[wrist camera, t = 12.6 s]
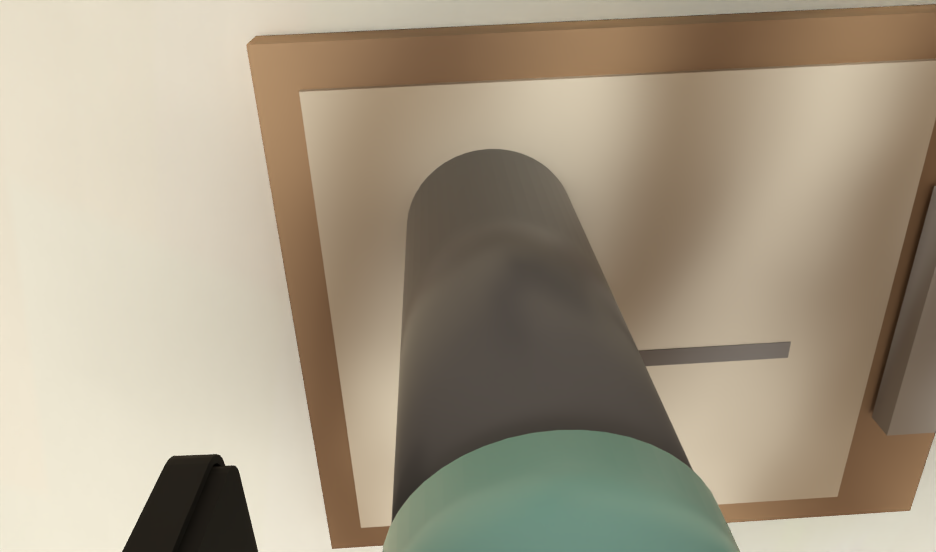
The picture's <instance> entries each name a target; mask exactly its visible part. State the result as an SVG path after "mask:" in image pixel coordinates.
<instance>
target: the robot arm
mask: <svg viewBox="0 0 936 552" xmlns="http://www.w3.org/2000/svg"><path fill="white" fill-rule="evenodd" d="M122 552H258V549H257V545H256V541H255V537H254V533H253V528H252V524H251V520H250V516H249V512H248V507H247V503H246V499H245V495H244V491H243V486H242V482H241V478H240V474H239V471H238V469H237V467H236V466H225V464H224V461H223V459H222V457H221V456H220V455H217V454H213V455H186V456H173V457H171V458H170V459H169V460H168V461H167V463H166V464H165V466H164V468H163V470H162V472H161V474H160V476H159V478H158V480H157V482H156V484H155V486H154V488H153V490H152V492H151V494H150V497H149V499H148V501H147V503H146V505H145V507H144V509H143V511H142V513H141V515H140V517H139V519H138V521H137V523H136V525H135V527H134V529H133V531H132V533H131V535H130V537H129V539H128V541H127V543H126V545H125V547H124V549H123V551H122Z"/></svg>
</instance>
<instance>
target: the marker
mask: <svg viewBox="0 0 936 552" xmlns="http://www.w3.org/2000/svg"><path fill="white" fill-rule="evenodd" d="M383 552H740V550H739V548H738V546H737V544H736V542H735V540H734V538H733V536H732V533H731V531H730V529H729V527H728V525H727V523H726V521H725V519H724V516H723V514H722V512H721V510H720V508H719V506H718V504H717V502H716V500H715V498H714V496H713V494H712V492H711V491H710V489H709V488H708V487H707V486H706V484H705V483H704V482H703V480H702V479H701V478H700V477H699V476H698V475H697V474H696V473H695V472H694V471H693V469H692V467H691V465H690V463H689V461H688V458H687V456H686V454H685V452H684V450H683V447H682V445H681V443H680V441H679V439H678V436H677V434H676V432H675V430H674V428H673V425H672V423H671V421H670V419H669V417H668V414H667V412H666V410H665V408H664V406H663V403H662V401H661V399H660V397H659V395H658V392H657V390H656V388H655V386H654V384H653V381H652V379H651V377H650V375H649V373H648V370H647V368H646V366H645V364H644V362H643V359H642V357H641V355H640V353H639V351H638V348H637V346H636V344H635V342H634V340H633V337H632V335H631V333H630V331H629V329H628V326H627V324H626V322H625V320H624V318H623V315H622V313H621V311H620V309H619V307H618V304H617V302H616V300H615V298H614V296H613V293H612V291H611V289H610V287H609V285H608V282H607V280H606V278H605V276H604V274H603V271H602V269H601V267H600V265H599V263H598V260H597V258H596V256H595V254H594V252H593V249H592V247H591V245H590V243H589V241H588V238H587V236H586V234H585V232H584V230H583V228H582V225H581V223H580V221H579V219H578V217H577V214H576V212H575V210H574V208H573V206H572V203H571V201H570V199H569V197H568V195H567V193H566V191H565V189H564V187H563V185H562V184H561V182H560V181H559V180H558V178H557V177H556V176H555V175H554V174H553V173H552V172H551V171H550V170H549V169H548V168H547V167H545V166H544V165H543V164H542V163H540V162H538V161H537V160H535V159H533V158H531V157H529V156H527V155H524V154H522V153H518V152H514V151H510V150H503V149H483V150H476V151H472V152H468V153H464V154H462V155H459V156H456V157H454V158H452V159H451V160H449V161H447V162H445V163H444V164H442V165H441V166H439V167H438V168H437V169H435V170H434V171H433V172H432V173H431V174H430V175H429V176H428V177H427V178H426V179H425V181H424V182H423V183H422V184H421V186H420V187H419V189H418V190H417V192H416V194H415V196H414V198H413V200H412V203H411V206H410V209H409V213H408V219H407V231H406V251H405V270H404V289H403V309H402V328H401V348H400V367H399V387H398V406H397V425H396V445H395V464H394V484H393V503H392V523H391V526H390V527H389V530H388V533H387V536H386V539H385V542H384V545H383Z"/></svg>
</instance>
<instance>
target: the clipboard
mask: <svg viewBox="0 0 936 552" xmlns="http://www.w3.org/2000/svg"><path fill="white" fill-rule="evenodd" d="M247 51H248V57H249V63H250V69H251V75H252V81H253V87H254V93H255V98H256V104H257V110H258V116H259V122H260V128H261V134H262V140H263V145H264V151H265V157H266V163H267V169H268V175H269V181H270V187H271V192H272V198H273V204H274V210H275V216H276V222H277V228H278V234H279V239H280V245H281V251H282V257H283V263H284V269H285V275H286V281H287V286H288V292H289V298H290V304H291V310H292V316H293V322H294V328H295V333H296V339H297V345H298V351H299V357H300V363H301V369H302V375H303V380H304V386H305V392H306V398H307V404H308V410H309V416H310V422H311V427H312V433H313V439H314V445H315V451H316V457H317V463H318V469H319V474H320V480H321V486H322V492H323V498H324V504H325V510H326V516H327V521H328V527H329V533H330V539H331V545H332V549H336V548H351V547H366V546H382V545H384V542H385V539H386V536H387V533H388V530H389V527H390V526H391V523H392V503H393V484H394V464H395V445H396V425H397V406H398V387H399V367H400V348H401V328H402V309H403V289H404V270H405V251H406V231H407V219H408V213H409V209H410V206H411V203H412V200H413V198H414V196H415V194H416V192H417V190H418V189H419V187H420V186H421V184H422V183H423V182H424V181H425V179H426V178H427V177H428V176H429V175H430V174H431V173H432V172H433V171H434V170H435V169H437V168H438V167H439V166H441V165H442V164H444V163H445V162H447V161H449V160H451V159H452V158H454V157H456V156H459V155H462V154H464V153H468V152H472V151H476V150H483V149H503V150H510V151H514V152H518V153H522V154H524V155H527V156H529V157H531V158H533V159H535V160H537V161H538V162H540V163H542V164H543V165H544V166H545V167H547V168H548V169H549V170H550V171H551V172H552V173H553V174H554V175H555V176H556V177H557V178H558V180H559V181H560V182H561V184H562V185H563V187H564V189H565V191H566V193H567V195H568V197H569V199H570V201H571V203H572V206H573V208H574V210H575V212H576V214H577V217H578V219H579V221H580V223H581V225H582V228H583V230H584V232H585V234H586V236H587V238H588V241H589V243H590V245H591V247H592V249H593V252H594V254H595V256H596V258H597V260H598V263H599V265H600V267H601V269H602V271H603V274H604V276H605V278H606V280H607V282H608V285H609V287H610V289H611V291H612V293H613V296H614V298H615V300H616V302H617V304H618V307H619V309H620V311H621V313H622V315H623V318H624V320H625V322H626V324H627V326H628V329H629V331H630V333H631V335H632V337H633V340H634V342H635V344H636V346H637V348H638V351H639V353H640V355H641V357H642V359H643V362H644V364H645V366H646V368H647V370H648V373H649V375H650V377H651V379H652V381H653V384H654V386H655V388H656V390H657V392H658V395H659V397H660V399H661V401H662V403H663V406H664V408H665V410H666V412H667V414H668V417H669V419H670V421H671V423H672V425H673V428H674V430H675V432H676V434H677V436H678V439H679V441H680V443H681V445H682V447H683V450H684V452H685V454H686V456H687V458H688V461H689V463H690V465H691V467H692V469H693V471H694V472H695V473H696V474H697V475H698V476H699V477H700V478H701V479H702V480H703V482H704V483H705V484H706V486H707V487H708V488H709V489H710V491H711V492H712V494H713V496H714V498H715V500H716V502H717V504H718V506H719V508H720V510H721V512H722V514H723V516H724V519H725V521H726V523H730V522H745V521H760V520H775V519H790V518H805V517H821V516H836V515H851V514H866V513H881V512H896V511H910V509H911V506H912V503H913V500H914V497H915V494H916V491H917V487H918V484H919V481H920V478H921V475H922V472H923V469H924V466H925V463H926V460H927V457H928V454H929V450H930V447H931V444H932V441H933V438H934V435H935V433H936V4H932V5H911V6H889V7H868V8H847V9H826V10H804V11H783V12H762V13H740V14H719V15H698V16H677V17H655V18H634V19H613V20H591V21H570V22H549V23H527V24H506V25H485V26H464V27H442V28H421V29H400V30H378V31H357V32H336V33H315V34H293V35H272V36H256V37H254V38H253V39H252V40H251V41H250V42H249V43H248V44H247Z"/></svg>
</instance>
